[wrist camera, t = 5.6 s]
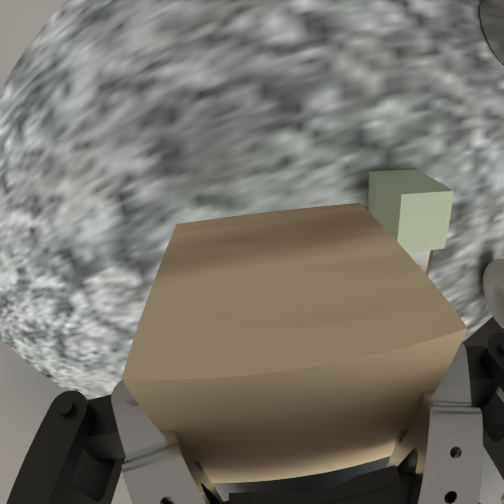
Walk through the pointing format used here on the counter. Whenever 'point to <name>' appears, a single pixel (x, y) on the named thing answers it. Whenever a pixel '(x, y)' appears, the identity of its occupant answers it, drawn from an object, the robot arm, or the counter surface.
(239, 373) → the maple block
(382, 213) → the sage block
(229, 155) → the counter surface
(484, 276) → the donut
